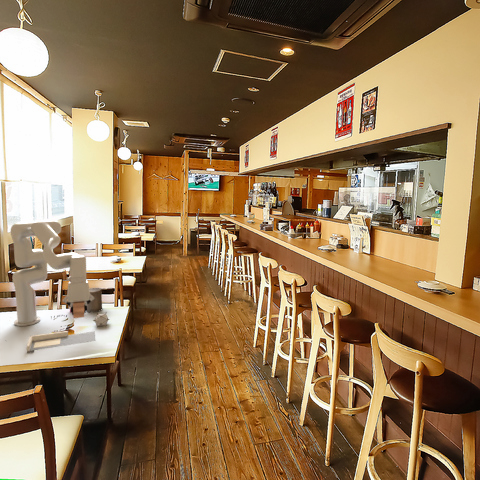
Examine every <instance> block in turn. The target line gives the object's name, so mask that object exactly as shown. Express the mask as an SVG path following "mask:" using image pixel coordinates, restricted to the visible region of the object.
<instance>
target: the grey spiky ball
mask: <svg viewBox="0 0 480 480" xmlns="http://www.w3.org/2000/svg"><path fill="white" fill-rule="evenodd" d="M109 320H111V319H110V318H109V317H108V315H107V311H106V312H105V313H98V312H96V316H95V319H94V320H92V321H93V322H94V323H95V325H96V327H106V326H107V324H108V323H109Z"/></svg>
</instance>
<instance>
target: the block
mask: <svg viewBox="0 0 480 480" xmlns="http://www.w3.org/2000/svg"><path fill="white" fill-rule="evenodd" d="M84 304H85V303H84V301H82V302H74V303H73V319H77V318H78V319H79V318H85V313H84Z"/></svg>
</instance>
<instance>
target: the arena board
mask: <svg viewBox="0 0 480 480" xmlns="http://www.w3.org/2000/svg"><path fill="white" fill-rule="evenodd" d="M96 340H97V339H96V332H95V331H89V332H80V333H74V334H69V330H65V331H64V330H63V331H56V332H51V333H50V332H49V333H43V334H35V335H30V336H29V338H28V341H27V344H26V353H27V354H31V353H34V352H35V351H36V350H37V351H39V350H44V349H50V348H51V349H52V348H57V347H63V346H69V345H70V346H71V345H76V344H83V343H90V342H95V341H96ZM30 352H31V353H30Z"/></svg>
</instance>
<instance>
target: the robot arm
mask: <svg viewBox="0 0 480 480" xmlns="http://www.w3.org/2000/svg"><path fill="white" fill-rule="evenodd" d="M61 232H62V225H61V223H60V222H59V221H58V220H56V219H43V220H41V219H40V220H35V221H21V222H16V223H13V225H11V227H10V236H11V239H12V243H13V253H14V254H13V255H14V263H15V265H16V267H18V268H23V269H20V270H19V269H18V270H17V271H15V272H14V273H13V274H12V275H11V276H12V277H11V278H12V282H13V286H14V291H15V302H16V304H15V305H16V318H17V319H16V320H14V322H13V323H14V325H15V326H17V327H25V326H32V325H35V324H37V323H39V322H41V318H40V317H39V316H38V315H37V296H36V291H35V289H34V288H33V287H32V285H34V284H40V283H42V282H45V281H46V279H48V265H49V267H50V268H51V269H54V270H55V271H57V270H58V271H59V270H64V269H68V268H69V277H66V281H68V283H67V284H68V285H67V292H66V293H67V295H65V297H64V298H63V299H62V303H64V304H65V305H67V306H68V307H69V306H70V307H69V308H71V312H70V313H71V314H72V315H73V303H74V302H82V301H84V314H86V313H87V305H88V304H89V303H90V302H91V301H92V300H94V297H93V296H92V295H91V294H90V293H89V288H90V284H89V281H88V280H87V257H86V256H85V255H83V254H78V253H76V252H65V253H60V254H56V253H55V252H54V251H53V249H55V248H56V247H58V246H59V244H60V243H61V237H60V236H59V235H58V234H60V233H61ZM29 237H31V238H32V237H36V238H37V239H38V241H40V243H41V244H42V246H43V249H41V248H33V245H32V244H33V243H32V241H31V239H30V238H29ZM33 266H34V267H33ZM27 267H28V268H27ZM89 298H90V299H89ZM70 302H71V303H70Z"/></svg>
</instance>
